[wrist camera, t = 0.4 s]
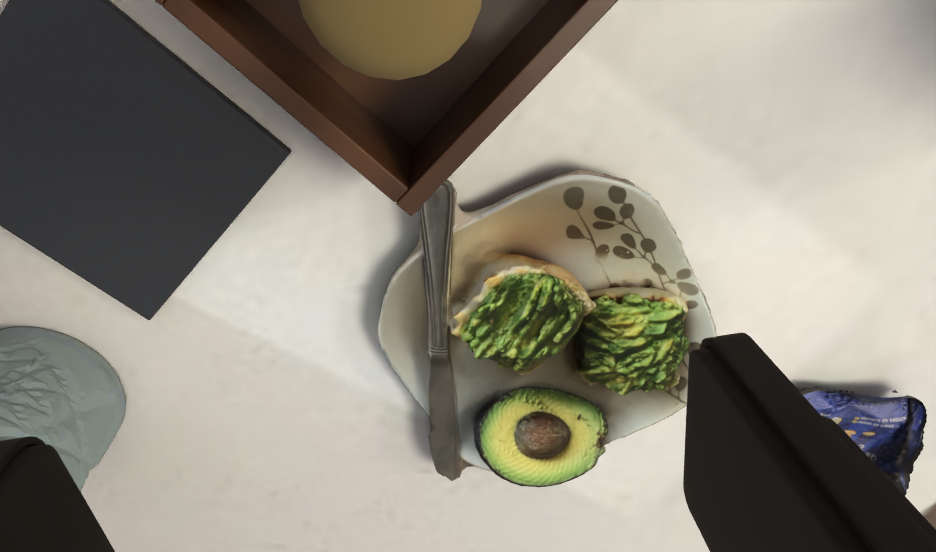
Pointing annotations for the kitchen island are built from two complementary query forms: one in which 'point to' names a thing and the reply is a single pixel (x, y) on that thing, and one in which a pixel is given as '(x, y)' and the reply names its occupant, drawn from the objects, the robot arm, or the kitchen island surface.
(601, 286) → the avocado toast plate
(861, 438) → the snack package
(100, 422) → the green cylindrical cup
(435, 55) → the cork
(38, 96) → the mat
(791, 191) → the kitchen island surface
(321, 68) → the bin
